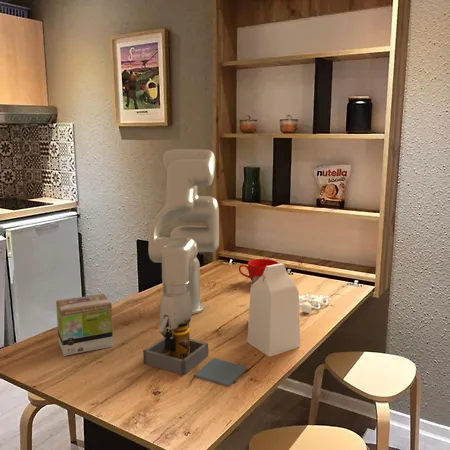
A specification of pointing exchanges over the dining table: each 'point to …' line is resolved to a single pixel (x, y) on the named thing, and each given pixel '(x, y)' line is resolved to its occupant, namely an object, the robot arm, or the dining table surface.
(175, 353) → the condiment
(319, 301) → the tangled rod sculpture
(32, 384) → the dining table surface
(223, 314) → the dining table surface
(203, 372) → the slate mat
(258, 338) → the milk
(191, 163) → the robot arm
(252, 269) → the ceramic cup
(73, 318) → the tea box
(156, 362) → the bin
